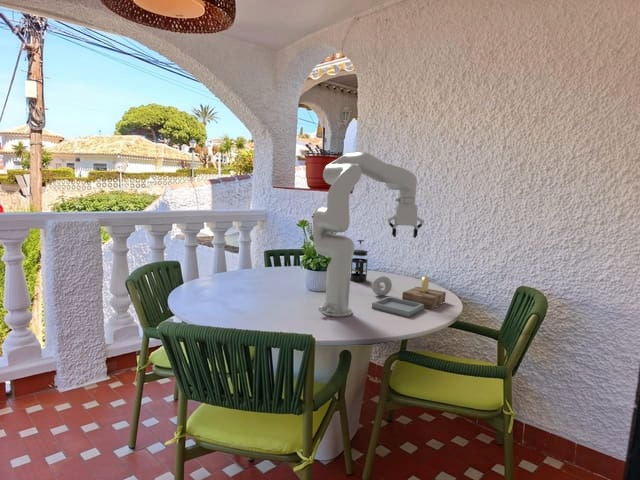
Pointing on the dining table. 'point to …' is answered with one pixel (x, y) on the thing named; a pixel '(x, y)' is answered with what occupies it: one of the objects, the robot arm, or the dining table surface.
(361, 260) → the french press
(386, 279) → the donut
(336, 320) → the dining table surface
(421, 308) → the tray
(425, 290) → the pin
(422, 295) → the pin block
